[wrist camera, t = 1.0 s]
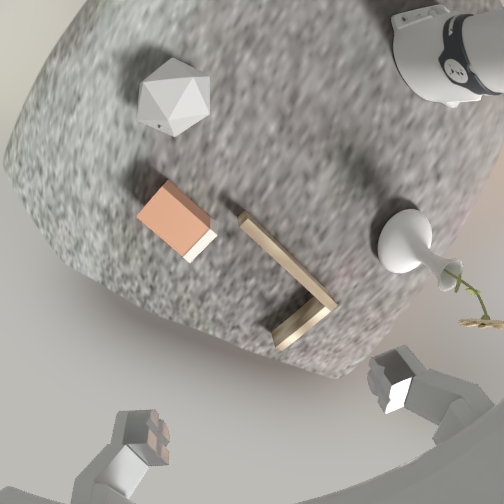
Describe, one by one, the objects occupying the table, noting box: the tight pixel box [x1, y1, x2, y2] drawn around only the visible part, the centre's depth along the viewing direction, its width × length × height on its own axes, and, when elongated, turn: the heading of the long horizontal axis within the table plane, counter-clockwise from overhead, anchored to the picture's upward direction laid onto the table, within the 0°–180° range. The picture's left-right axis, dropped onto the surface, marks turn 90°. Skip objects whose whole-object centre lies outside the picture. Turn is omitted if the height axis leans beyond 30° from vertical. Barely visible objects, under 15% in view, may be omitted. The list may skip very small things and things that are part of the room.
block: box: [136, 180, 217, 263], centre depth 37 cm, size 5×9×5 cm, turn 44°
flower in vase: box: [378, 209, 504, 330], centre depth 34 cm, size 13×11×25 cm
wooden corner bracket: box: [237, 210, 337, 351], centre depth 43 cm, size 12×20×4 cm, turn 44°
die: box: [136, 57, 210, 137], centre depth 29 cm, size 8×9×10 cm
